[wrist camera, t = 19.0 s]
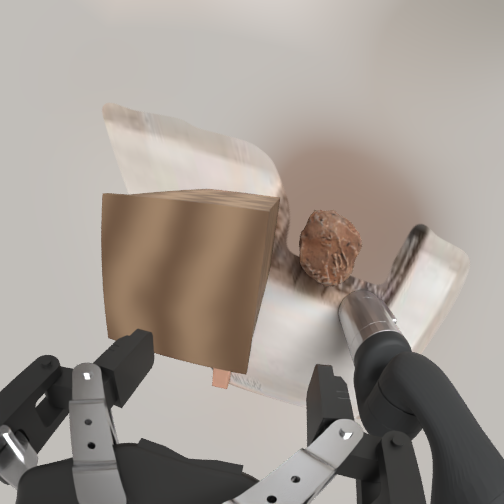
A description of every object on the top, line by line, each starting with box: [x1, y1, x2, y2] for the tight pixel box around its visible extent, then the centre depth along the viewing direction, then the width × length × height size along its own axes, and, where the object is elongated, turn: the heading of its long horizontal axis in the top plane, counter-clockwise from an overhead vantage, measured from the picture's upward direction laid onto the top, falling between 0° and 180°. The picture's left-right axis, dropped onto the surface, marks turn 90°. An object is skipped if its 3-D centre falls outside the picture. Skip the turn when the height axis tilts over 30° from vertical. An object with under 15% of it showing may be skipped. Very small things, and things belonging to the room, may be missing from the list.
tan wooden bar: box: [212, 368, 231, 389], centre depth 58 cm, size 4×22×4 cm, turn 173°
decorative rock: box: [299, 210, 362, 286], centre depth 47 cm, size 13×11×10 cm
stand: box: [101, 189, 280, 374], centre depth 38 cm, size 15×15×32 cm
